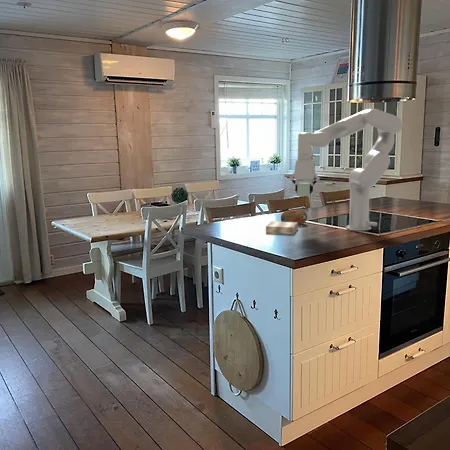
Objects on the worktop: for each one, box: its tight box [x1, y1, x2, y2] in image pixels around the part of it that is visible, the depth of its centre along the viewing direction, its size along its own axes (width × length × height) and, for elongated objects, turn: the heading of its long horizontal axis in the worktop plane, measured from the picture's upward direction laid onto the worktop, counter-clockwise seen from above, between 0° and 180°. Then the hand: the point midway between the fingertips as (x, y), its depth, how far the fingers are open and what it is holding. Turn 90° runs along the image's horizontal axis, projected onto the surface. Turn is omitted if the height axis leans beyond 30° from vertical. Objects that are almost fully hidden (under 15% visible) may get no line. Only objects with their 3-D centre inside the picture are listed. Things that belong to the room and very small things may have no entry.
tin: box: [280, 209, 308, 226], centre depth 260 cm, size 15×3×8 cm, turn 105°
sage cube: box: [296, 182, 312, 197], centre depth 237 cm, size 6×6×6 cm
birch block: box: [265, 221, 299, 235], centre depth 244 cm, size 14×14×4 cm
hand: (303, 192), depth 238 cm, fingers closed on sage cube, 6 cm apart
